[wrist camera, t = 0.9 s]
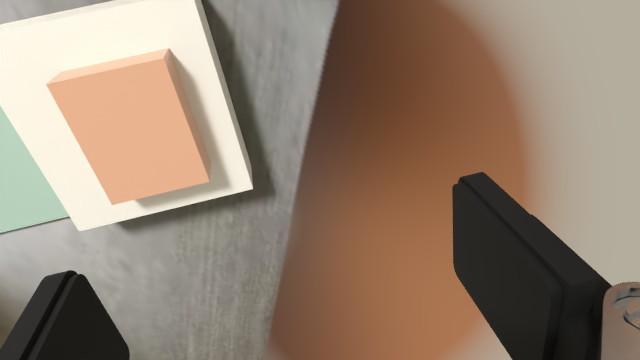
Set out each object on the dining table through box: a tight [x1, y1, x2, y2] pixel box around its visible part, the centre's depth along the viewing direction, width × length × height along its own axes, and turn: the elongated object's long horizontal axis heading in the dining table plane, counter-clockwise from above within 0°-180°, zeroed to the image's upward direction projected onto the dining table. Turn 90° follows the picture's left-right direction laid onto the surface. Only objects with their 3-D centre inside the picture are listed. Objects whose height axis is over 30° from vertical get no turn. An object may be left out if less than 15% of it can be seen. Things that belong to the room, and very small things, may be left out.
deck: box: [0, 0, 253, 231], centre depth 31 cm, size 15×14×4 cm
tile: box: [46, 48, 211, 205], centre depth 28 cm, size 9×7×2 cm
